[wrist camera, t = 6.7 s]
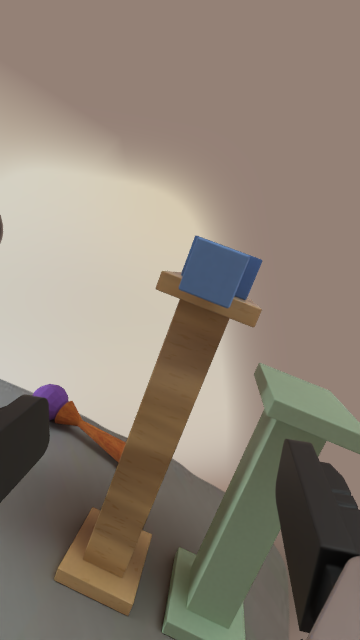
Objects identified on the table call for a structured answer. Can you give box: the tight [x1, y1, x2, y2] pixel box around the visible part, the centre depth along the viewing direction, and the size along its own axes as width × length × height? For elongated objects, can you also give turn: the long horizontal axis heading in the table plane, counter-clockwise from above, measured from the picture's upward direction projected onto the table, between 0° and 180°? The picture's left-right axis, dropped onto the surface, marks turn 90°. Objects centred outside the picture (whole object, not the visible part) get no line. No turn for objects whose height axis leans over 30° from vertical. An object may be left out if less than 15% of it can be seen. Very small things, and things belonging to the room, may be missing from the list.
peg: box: [179, 236, 262, 308], centre depth 22 cm, size 18×6×4 cm, turn 172°
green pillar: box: [162, 363, 360, 640], centre depth 30 cm, size 10×8×26 cm
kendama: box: [32, 384, 126, 463], centre depth 50 cm, size 6×6×20 cm
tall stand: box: [54, 271, 262, 616], centre depth 30 cm, size 10×8×32 cm
